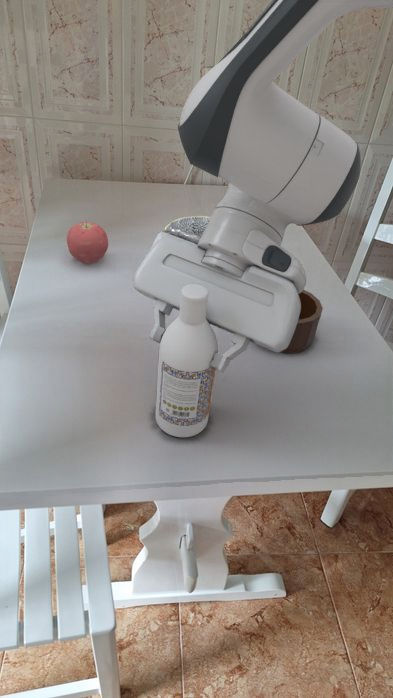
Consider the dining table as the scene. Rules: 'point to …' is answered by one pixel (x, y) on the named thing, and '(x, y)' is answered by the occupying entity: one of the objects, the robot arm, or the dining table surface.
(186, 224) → the bowl
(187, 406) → the bath foam
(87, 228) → the apple
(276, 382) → the dining table surface
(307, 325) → the cup
